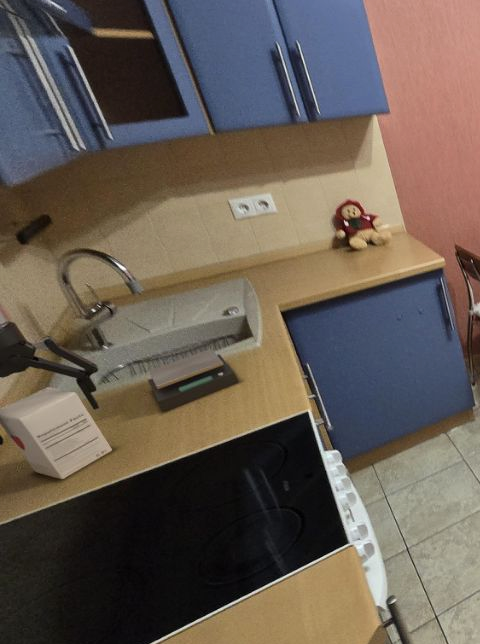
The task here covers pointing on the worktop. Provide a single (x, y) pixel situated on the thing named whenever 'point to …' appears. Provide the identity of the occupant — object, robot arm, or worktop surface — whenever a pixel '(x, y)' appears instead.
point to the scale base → (194, 386)
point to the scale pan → (185, 368)
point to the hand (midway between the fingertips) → (50, 424)
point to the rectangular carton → (54, 432)
